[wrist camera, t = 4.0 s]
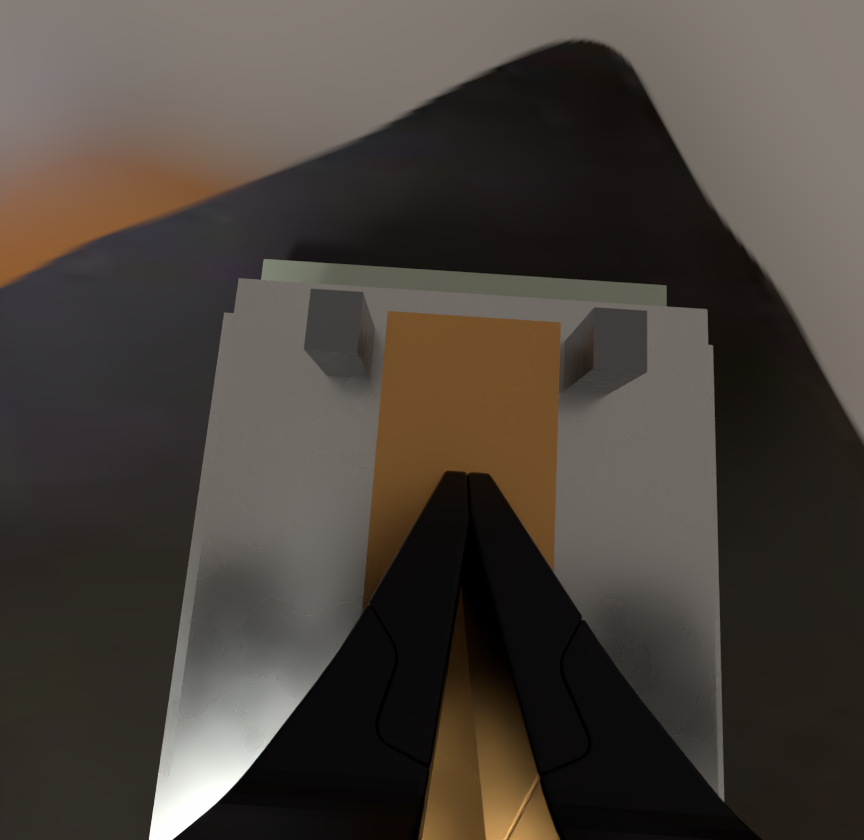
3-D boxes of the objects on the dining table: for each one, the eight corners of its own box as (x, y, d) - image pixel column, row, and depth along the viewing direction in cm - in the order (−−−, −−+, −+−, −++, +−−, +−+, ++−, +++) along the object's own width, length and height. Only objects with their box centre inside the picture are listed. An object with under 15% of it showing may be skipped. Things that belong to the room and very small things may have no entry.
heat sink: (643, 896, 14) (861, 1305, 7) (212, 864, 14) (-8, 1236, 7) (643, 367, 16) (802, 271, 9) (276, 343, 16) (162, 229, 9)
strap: (524, 1110, 9) (539, 1209, 8) (326, 1094, 9) (309, 1190, 8) (549, 337, 11) (564, 318, 10) (391, 326, 11) (386, 306, 10)
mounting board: (648, 910, 15) (672, 955, 13) (201, 876, 15) (176, 918, 14) (647, 302, 18) (666, 285, 17) (277, 278, 18) (263, 259, 17)
